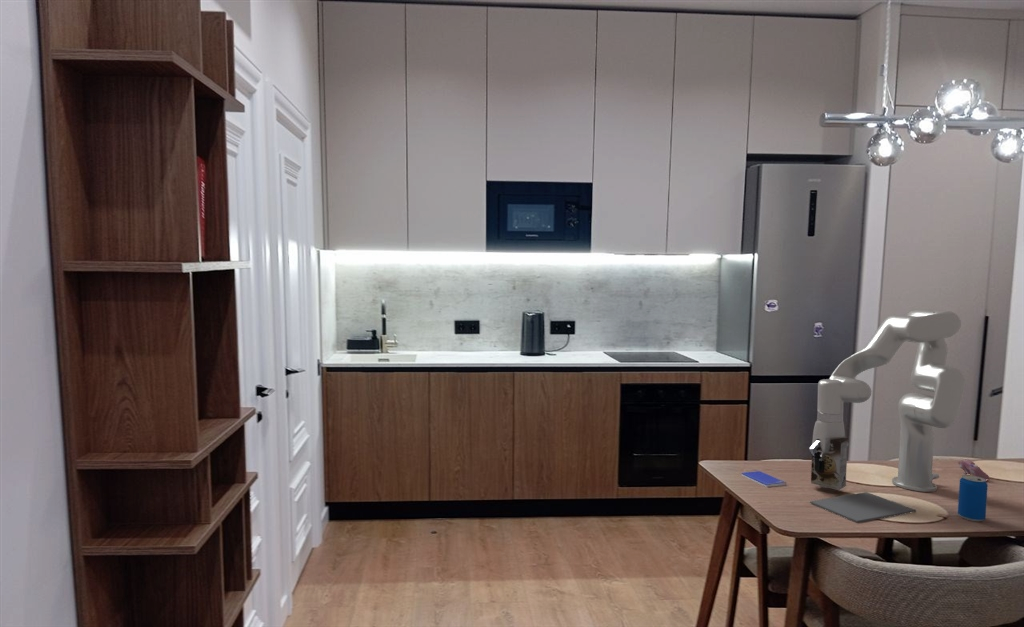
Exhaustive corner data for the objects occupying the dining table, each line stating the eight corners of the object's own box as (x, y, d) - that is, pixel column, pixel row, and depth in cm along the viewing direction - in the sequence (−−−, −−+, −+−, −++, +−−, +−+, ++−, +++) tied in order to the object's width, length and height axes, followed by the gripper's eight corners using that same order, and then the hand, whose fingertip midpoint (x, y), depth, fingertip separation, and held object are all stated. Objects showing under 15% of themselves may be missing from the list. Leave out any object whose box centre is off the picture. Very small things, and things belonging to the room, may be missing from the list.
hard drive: (786, 482, 203) (760, 470, 215) (766, 484, 200) (741, 472, 212) (786, 486, 203) (760, 475, 215) (766, 488, 201) (741, 476, 212)
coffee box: (810, 483, 200) (811, 435, 199) (818, 479, 204) (819, 432, 203) (839, 490, 193) (840, 441, 192) (847, 486, 197) (848, 437, 196)
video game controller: (961, 476, 221) (953, 459, 221) (974, 471, 220) (966, 454, 220) (978, 485, 211) (970, 467, 211) (992, 480, 211) (983, 462, 211)
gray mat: (866, 493, 196) (866, 492, 196) (915, 511, 181) (915, 509, 181) (809, 503, 186) (809, 501, 186) (856, 522, 172) (856, 520, 172)
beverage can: (990, 523, 173) (992, 482, 173) (965, 521, 174) (967, 480, 174) (977, 514, 180) (979, 475, 179) (953, 513, 181) (955, 473, 180)
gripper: (839, 412, 204) (837, 463, 205) (800, 417, 197) (799, 470, 198) (859, 417, 197) (857, 470, 198) (820, 422, 190) (819, 477, 192)
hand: (828, 469), depth 198 cm, fingers closed on coffee box, 7 cm apart
